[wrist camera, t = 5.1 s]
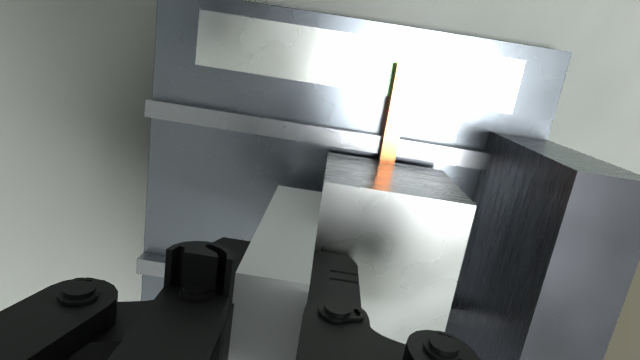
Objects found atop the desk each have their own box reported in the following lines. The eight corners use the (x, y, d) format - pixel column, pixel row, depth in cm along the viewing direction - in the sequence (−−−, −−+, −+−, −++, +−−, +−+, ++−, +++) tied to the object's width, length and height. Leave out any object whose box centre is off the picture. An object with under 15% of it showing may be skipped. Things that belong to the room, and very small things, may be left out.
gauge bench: (171, -8, 16) (45, -59, 9) (555, 52, 16) (717, 46, 9) (150, 330, 20) (48, 475, 13) (465, 380, 20) (532, 552, 13)
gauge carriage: (343, 54, 15) (344, 51, 11) (464, 72, 15) (509, 76, 11) (307, 282, 17) (297, 347, 13) (413, 298, 17) (435, 369, 13)
